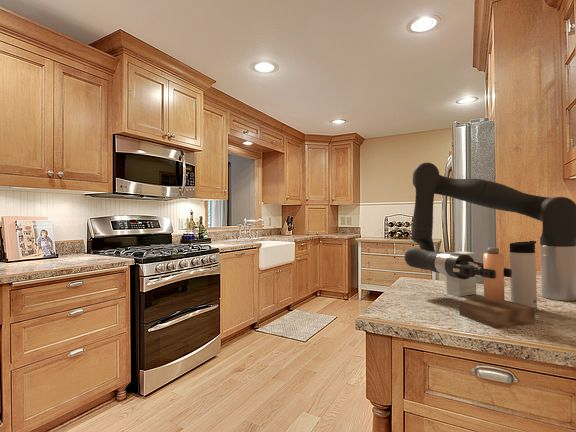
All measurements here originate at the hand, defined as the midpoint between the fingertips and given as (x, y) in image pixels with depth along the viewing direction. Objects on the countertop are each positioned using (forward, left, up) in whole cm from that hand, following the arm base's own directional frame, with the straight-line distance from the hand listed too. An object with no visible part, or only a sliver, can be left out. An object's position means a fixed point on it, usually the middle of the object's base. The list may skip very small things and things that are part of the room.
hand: (502, 273), depth 84 cm
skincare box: (-13, -29, -13) cm, 34 cm away
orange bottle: (0, -3, -7) cm, 7 cm away
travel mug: (-16, -8, -13) cm, 22 cm away
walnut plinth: (0, -3, -12) cm, 13 cm away
